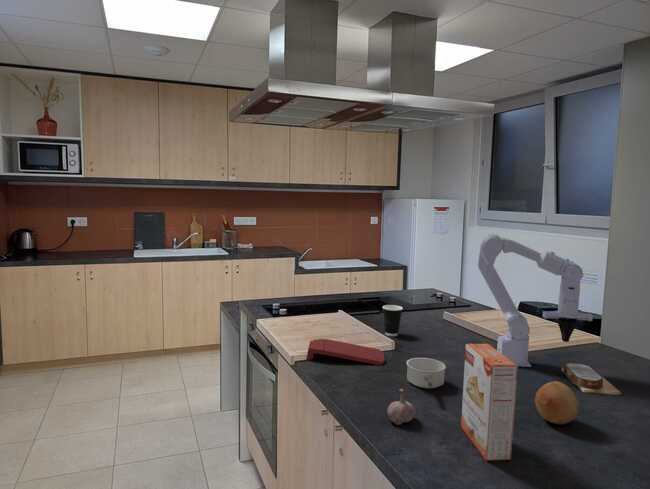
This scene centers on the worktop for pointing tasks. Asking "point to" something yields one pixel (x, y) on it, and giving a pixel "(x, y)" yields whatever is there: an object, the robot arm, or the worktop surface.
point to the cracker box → (489, 401)
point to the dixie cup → (392, 319)
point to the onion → (557, 403)
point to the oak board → (605, 389)
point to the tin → (583, 376)
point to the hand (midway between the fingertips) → (565, 340)
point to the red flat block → (345, 351)
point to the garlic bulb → (401, 410)
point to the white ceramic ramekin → (425, 372)
